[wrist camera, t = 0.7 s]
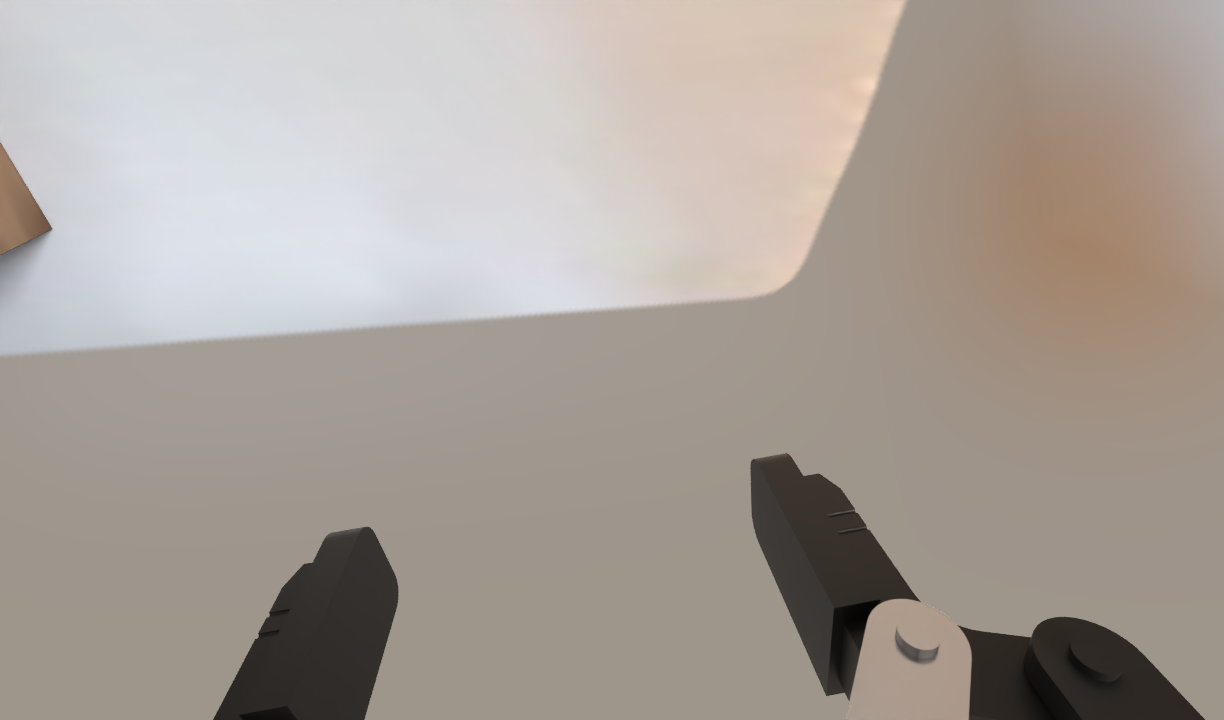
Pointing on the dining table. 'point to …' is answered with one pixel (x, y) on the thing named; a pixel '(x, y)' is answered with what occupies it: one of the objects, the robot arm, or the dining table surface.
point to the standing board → (17, 208)
